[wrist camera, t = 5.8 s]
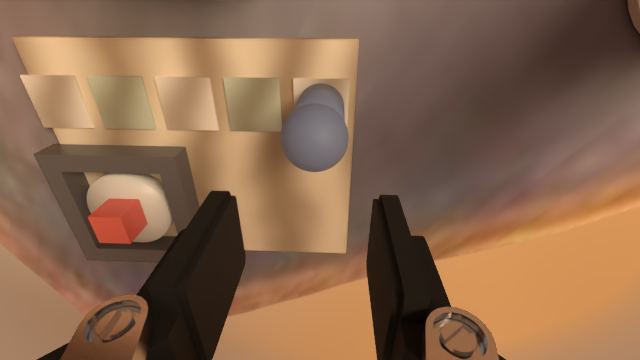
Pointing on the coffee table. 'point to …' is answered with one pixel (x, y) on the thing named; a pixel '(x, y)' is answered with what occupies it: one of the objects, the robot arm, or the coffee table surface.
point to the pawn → (316, 129)
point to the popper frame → (74, 159)
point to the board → (207, 118)
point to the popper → (128, 208)
